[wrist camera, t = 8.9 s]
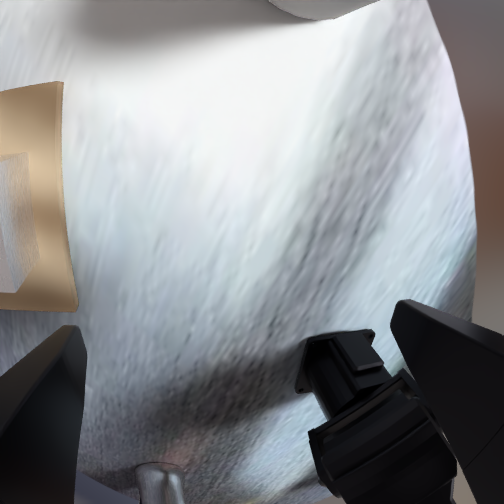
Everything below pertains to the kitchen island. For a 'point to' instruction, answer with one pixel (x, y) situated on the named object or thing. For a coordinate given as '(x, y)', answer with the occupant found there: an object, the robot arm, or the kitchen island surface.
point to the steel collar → (16, 222)
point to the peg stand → (41, 194)
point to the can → (320, 7)
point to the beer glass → (160, 483)
